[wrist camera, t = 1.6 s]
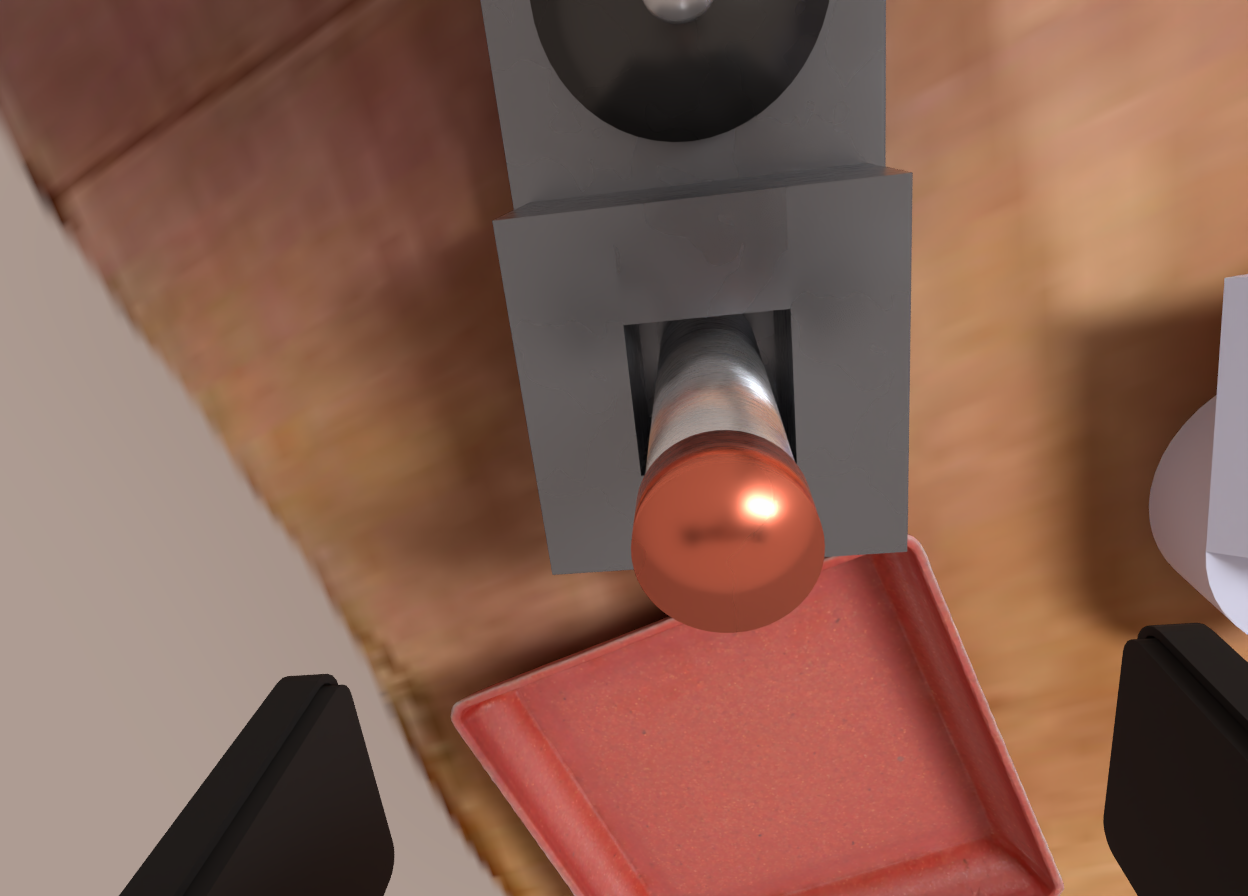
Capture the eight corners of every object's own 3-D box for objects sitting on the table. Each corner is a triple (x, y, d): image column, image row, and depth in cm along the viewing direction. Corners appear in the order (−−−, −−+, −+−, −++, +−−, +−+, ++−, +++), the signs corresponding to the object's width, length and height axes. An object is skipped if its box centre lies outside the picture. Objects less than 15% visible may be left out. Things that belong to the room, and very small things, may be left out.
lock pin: (652, 302, 25) (620, 470, 13) (755, 291, 25) (823, 455, 13) (662, 398, 26) (641, 638, 14) (761, 390, 26) (827, 627, 14)
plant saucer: (1039, 834, 34) (1074, 905, 31) (657, 944, 38) (654, 1015, 35) (890, 482, 29) (914, 525, 26) (461, 654, 33) (438, 708, 30)
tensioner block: (468, -137, 22) (391, -228, 17) (875, -204, 21) (946, -327, 15) (565, 486, 29) (535, 575, 23) (876, 462, 28) (925, 550, 22)
